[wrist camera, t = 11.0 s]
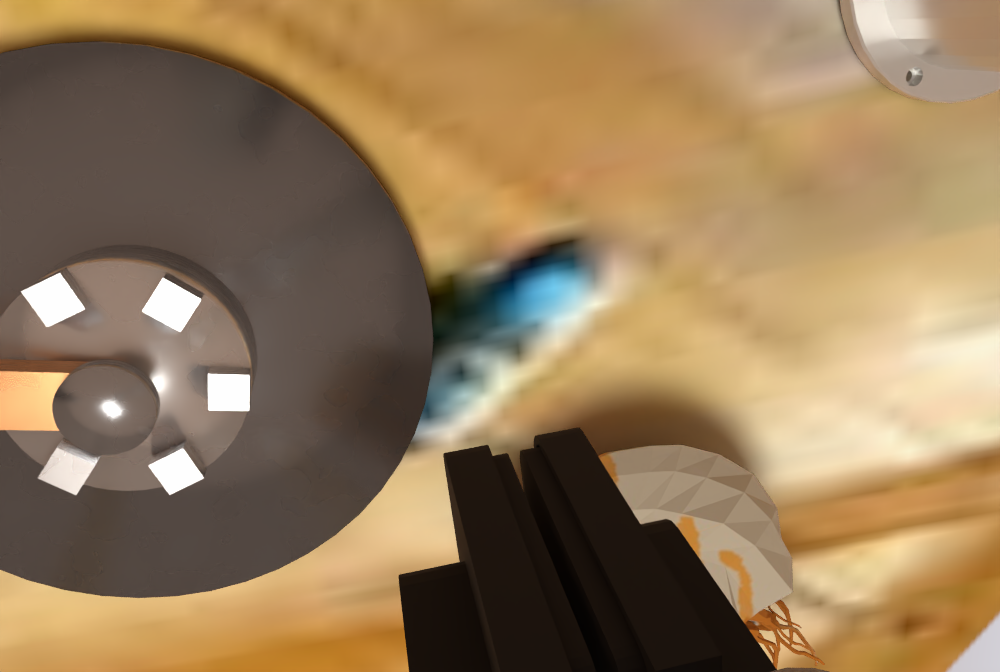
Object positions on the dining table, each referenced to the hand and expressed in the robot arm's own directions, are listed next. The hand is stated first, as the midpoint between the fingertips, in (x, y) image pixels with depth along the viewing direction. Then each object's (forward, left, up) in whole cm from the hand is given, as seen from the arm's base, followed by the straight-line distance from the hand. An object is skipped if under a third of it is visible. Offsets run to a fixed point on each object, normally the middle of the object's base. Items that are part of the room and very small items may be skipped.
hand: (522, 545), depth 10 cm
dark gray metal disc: (+12, +6, -29) cm, 32 cm away
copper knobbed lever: (+16, +5, -28) cm, 32 cm away
